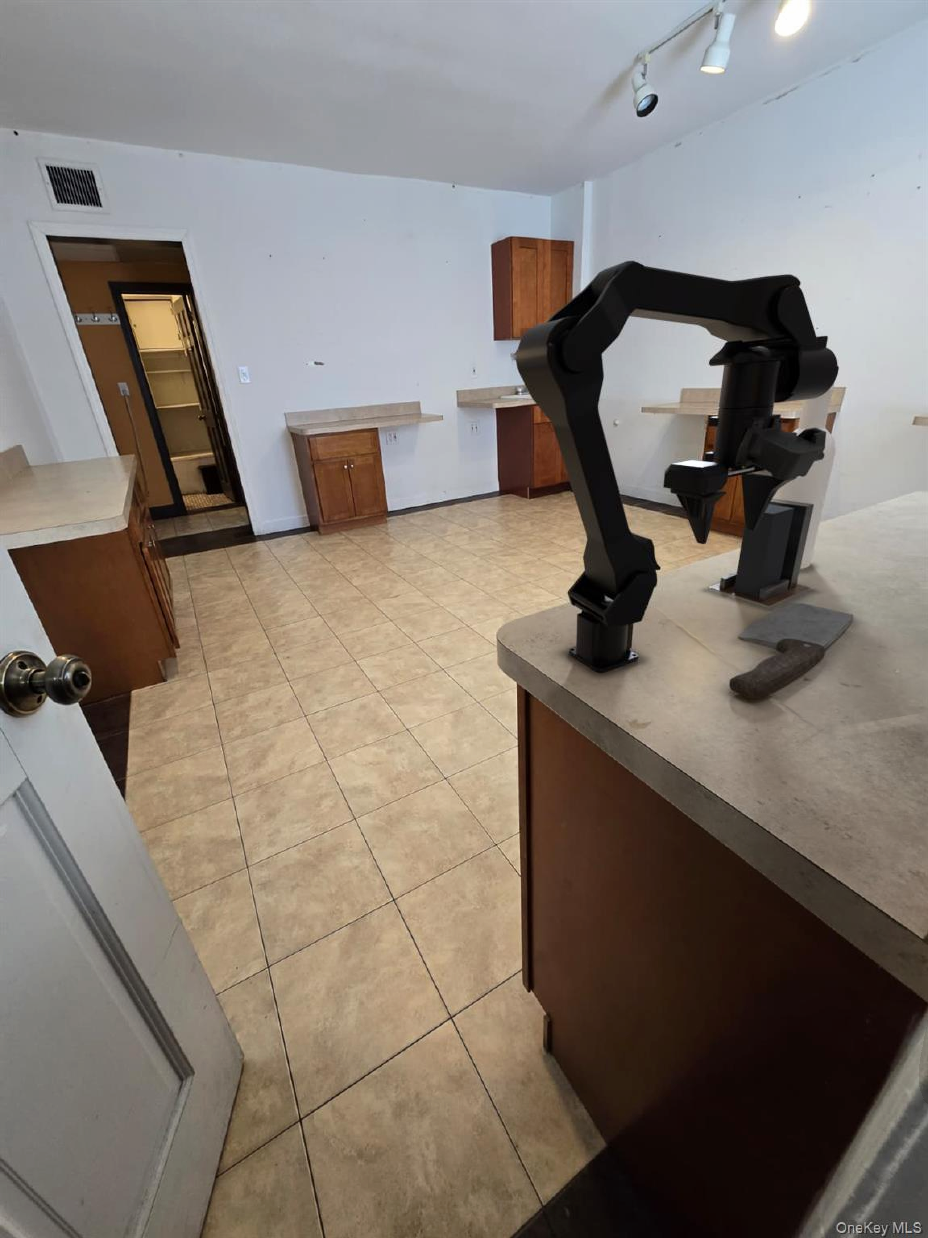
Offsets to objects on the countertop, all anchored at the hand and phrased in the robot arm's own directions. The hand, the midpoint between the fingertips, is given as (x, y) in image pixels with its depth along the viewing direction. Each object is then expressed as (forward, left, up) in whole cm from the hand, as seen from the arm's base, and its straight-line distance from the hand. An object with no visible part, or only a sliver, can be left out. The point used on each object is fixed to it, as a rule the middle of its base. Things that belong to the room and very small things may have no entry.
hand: (726, 536), depth 66 cm
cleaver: (+2, -9, -13) cm, 16 cm away
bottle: (+30, +10, -13) cm, 34 cm away
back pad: (+14, +4, -12) cm, 19 cm away
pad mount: (+17, +5, -13) cm, 22 cm away
